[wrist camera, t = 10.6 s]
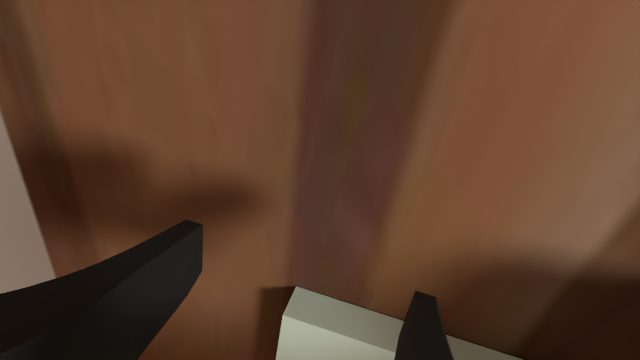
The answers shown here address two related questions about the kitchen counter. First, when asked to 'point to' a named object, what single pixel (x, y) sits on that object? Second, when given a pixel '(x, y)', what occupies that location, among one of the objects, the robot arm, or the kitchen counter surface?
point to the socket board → (351, 333)
